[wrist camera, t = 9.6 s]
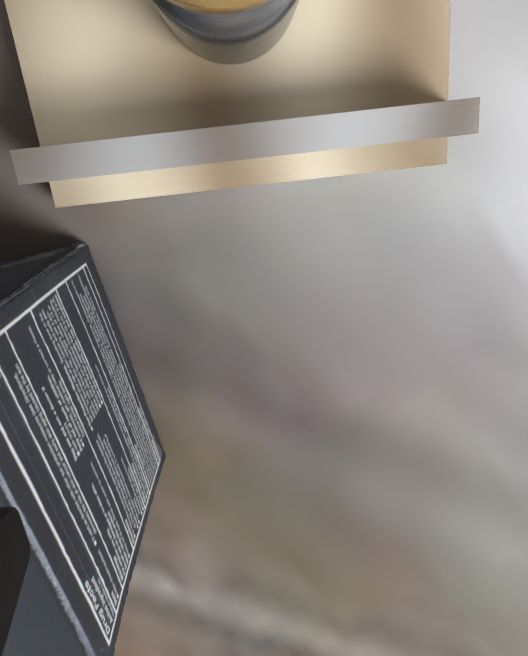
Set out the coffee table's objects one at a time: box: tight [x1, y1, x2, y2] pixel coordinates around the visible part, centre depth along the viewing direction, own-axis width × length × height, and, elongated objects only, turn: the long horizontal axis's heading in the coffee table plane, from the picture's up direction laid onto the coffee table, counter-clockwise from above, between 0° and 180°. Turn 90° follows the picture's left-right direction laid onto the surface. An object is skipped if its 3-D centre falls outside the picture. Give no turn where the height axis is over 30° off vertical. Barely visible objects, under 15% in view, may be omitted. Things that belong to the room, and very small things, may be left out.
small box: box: [0, 241, 166, 656], centre depth 17 cm, size 11×6×10 cm, turn 14°
